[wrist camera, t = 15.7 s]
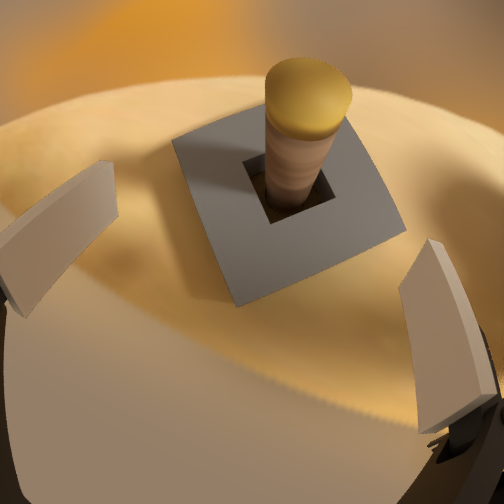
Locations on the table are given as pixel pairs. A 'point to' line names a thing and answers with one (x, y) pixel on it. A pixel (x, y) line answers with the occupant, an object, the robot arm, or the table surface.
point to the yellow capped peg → (300, 127)
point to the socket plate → (291, 228)
